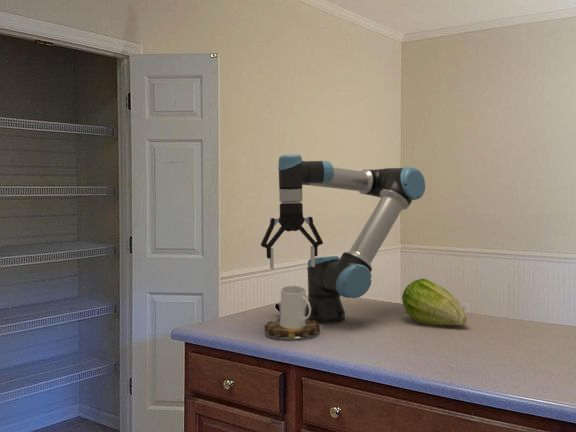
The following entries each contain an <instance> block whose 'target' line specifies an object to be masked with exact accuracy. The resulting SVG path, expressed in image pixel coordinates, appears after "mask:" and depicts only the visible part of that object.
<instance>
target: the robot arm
mask: <svg viewBox="0 0 576 432" xmlns="http://www.w3.org/2000/svg"><path fill="white" fill-rule="evenodd" d="M277 167H278V168H277V169H278V187H279V188H278V190H279V191H278V192H279V193H278V194H279V195H278V197H279V202H280V204H279V217H278V218H274V217H271V218H270V219H269V226H268V228H267V229H266V231H265V234H264V236H263V238H262V241H261V243H260V246H261V247H263V248H265V249H266V258H267V259H269V268H270V269H271V270H274V269H275V268H274V267H275V266H274V264H275V263H274V248H272V247H273V246H274V244H275V243H276V241H278V239H279V238H280V237H281V236H282V235H283V233H284V232H298V231H299V232H301V234H302V235H303V236H304V237H305V238H306V239H307V241H309V243H310V244H311V245H312V246H311V245H309V246H310V258H309V259H308V261H307V268H306V270H307V293H308V295H307V297H308V298H307V300H308V301H309V303H310V306H311V314H310V316H309V318H308V320H309V321H317V324H325V325H326V324H336V323H340V322H343V321H345V320H346V314H345V313H346V311H345V309H344V306H343V303H342V300H341V297H343V298H349V299H358V298H360V297H362V296H364V295H365V294H366V293H367V292H368V291H369V289H370V288H371V286H372V279H371V278H372V277H373V276H372V270H373V267H372V262H373V260H374V258H375V257H376V255H377V253H378V251H379V250H380V248H381V247H382V246H383V244H384V241H385V240H386V238H387V237H388V234H389V233H390V231H391V229H392V228H393V226H394V224H395V222H396V221H397V219H398V218H399V216H400V214H401V213H402V211H404V210H407V209H408V208H409V207H410V205H411V204H412V203H413V202H412V201H416V200H419V199H421V198H422V197H423V196H424V194H425V191H426V182H425V180H426V179H425V177H424V175H423V173H422V172H421V171H420V170H419V169H418V168H416V167H409V166H404V167H390V168H389V167H388V168H387V167H386V168H379V169H377V168H376V169H366V168H365V169H361V170H355V169H346V168H341V167H340V168H339V167H334V165H333V164H332V163H331V162H330V161H326V160H307V161H306V160H303V159H302V156H301V155H300V154H282V155H280V156H279V158H278V166H277ZM303 186H311V187H321V188H330V189H336V190H337V189H339V190H346V191H356V192H359V193H360V195H368V196H372V197H376V198H380V200H379V202H378V203H377V205H376V207H375V208H374V210H373V212H372V213H371V215H370V216H369V218H368V220H367V221H366V223H365V225H364V226H363V228H362V229H361V231H360V233H359V234H358V236H357V237H356V240H355V241H354V243H353V244H352V246H351V247H350V249H349V250H348V251H344V252H343V253H342V255H340V257H339V256H338V255H332V256H331V255H330V256H319V257H318V255H319V253H318V248H319V246H320V245H323V244H324V242H323V239H322V237H321V236H320V233H319V232H318V230H317V228H316V226H315V224H314V219H313V217H312V216H307V217H304V210H303V208H304V207H303V203H302V202H303ZM278 223H279V225H280V227H279V228H278V230H277V231H276V232H275V234H274V235H273V236H272V238H271V239H270V237H271V234H272V232H273V231H274V228H275V226H276V225H277V224H278ZM304 223H305V224H308V227H309V228H310V230H311V232H312V234H313V236H314V238H315V239H314V238H313V237H312V236H311V235H310V234H309V233H308V231H307V230H306V229H305V228H304V227H303V224H304ZM269 239H270V240H269ZM315 240H316V241H315ZM268 241H269V242H268ZM308 314H309V307H308V304H307V303H306V304H305V317H307V316H308Z"/></svg>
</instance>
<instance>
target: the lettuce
mask: <svg viewBox="0 0 576 432" xmlns="http://www.w3.org/2000/svg"><path fill="white" fill-rule="evenodd" d="M401 301H402V304H403V307H404V309H405V312H406V314H407V315H408V316H409V317H410V318H411V319H413V320H414V321H417V322H419V323H421V324H426V325H432V326H434V325H435V326H454V325H455V326H457V325H458V326H463V325H465V323H466V322H467V319H468V318H467V315H466V313H465V311H464V309H463V307H462V306H461V304H460V301H459V300H458V299H457V298H456V297H455V296H454V295H452V294H451V292H450V291H448V290H447V288H445V287H442V286H441V285H439V284H436V283H435V282H432V281H431V280H429V279H427V278H420V279H416V280H414V281H412V282H410V283H409V284H408V285H407V286H405V288H404V290H403V293H402V296H401Z"/></svg>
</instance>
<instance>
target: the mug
mask: <svg viewBox="0 0 576 432" xmlns="http://www.w3.org/2000/svg"><path fill="white" fill-rule="evenodd" d="M306 291H307V290H306V288H304V287H301V286H296V285H288V286H284V287H281V288H280V303H281V316H280V326H281V327H283V328H286V329H300V328H303V327H304V326H305V320H306V319H308V318H309V316H310V314H311V306H310V303H309V301H308V298H306V297H307V296H306V295H307V292H306ZM307 304H308V307H309V314H308V316H307V317H305V308H306V305H307Z"/></svg>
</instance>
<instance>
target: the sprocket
mask: <svg viewBox="0 0 576 432" xmlns="http://www.w3.org/2000/svg"><path fill="white" fill-rule="evenodd" d="M278 307H279V309H278V313H279V318H278V319H276V320H275V321H272V320H271V321H267V324H266V323H265V324H264V332H265V331H266V333H267V334H269V335H270V334H274V335H275V336H278V337H281V336H289V337H295V336H303V337H304V336H309V334H311V333H312V334H316V333H318V330H320V331H321V328H320V324H321V323H317V321H309V320H308V319H306V320H305V326H304V327H303V328H300V329H286V328H283V327H281V326H280V316H281V302H280V303H278Z"/></svg>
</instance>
